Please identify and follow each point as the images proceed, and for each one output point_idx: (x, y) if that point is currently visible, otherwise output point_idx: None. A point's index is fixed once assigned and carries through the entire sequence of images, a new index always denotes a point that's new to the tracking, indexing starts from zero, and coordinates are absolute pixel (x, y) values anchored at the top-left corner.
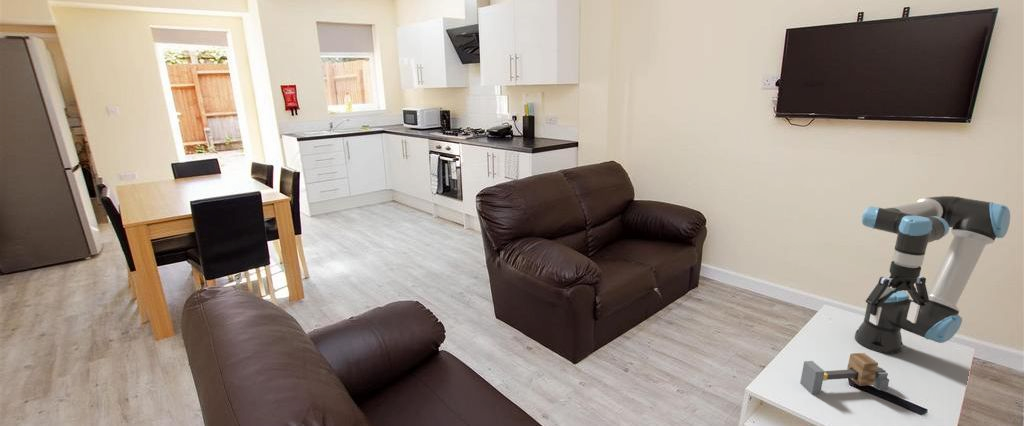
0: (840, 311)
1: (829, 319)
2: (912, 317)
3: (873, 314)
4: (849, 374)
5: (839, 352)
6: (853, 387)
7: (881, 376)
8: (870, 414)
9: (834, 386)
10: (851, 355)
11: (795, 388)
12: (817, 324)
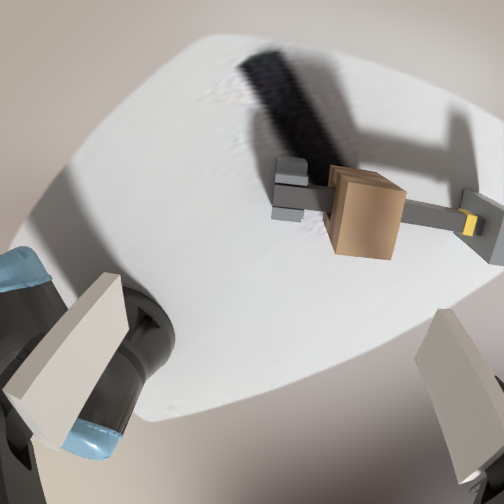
0: (134, 412)
1: (174, 406)
2: (104, 317)
3: (500, 381)
4: (405, 201)
5: (256, 322)
6: None
7: (298, 174)
8: (414, 88)
9: None
10: (391, 252)
11: None
12: (214, 403)
